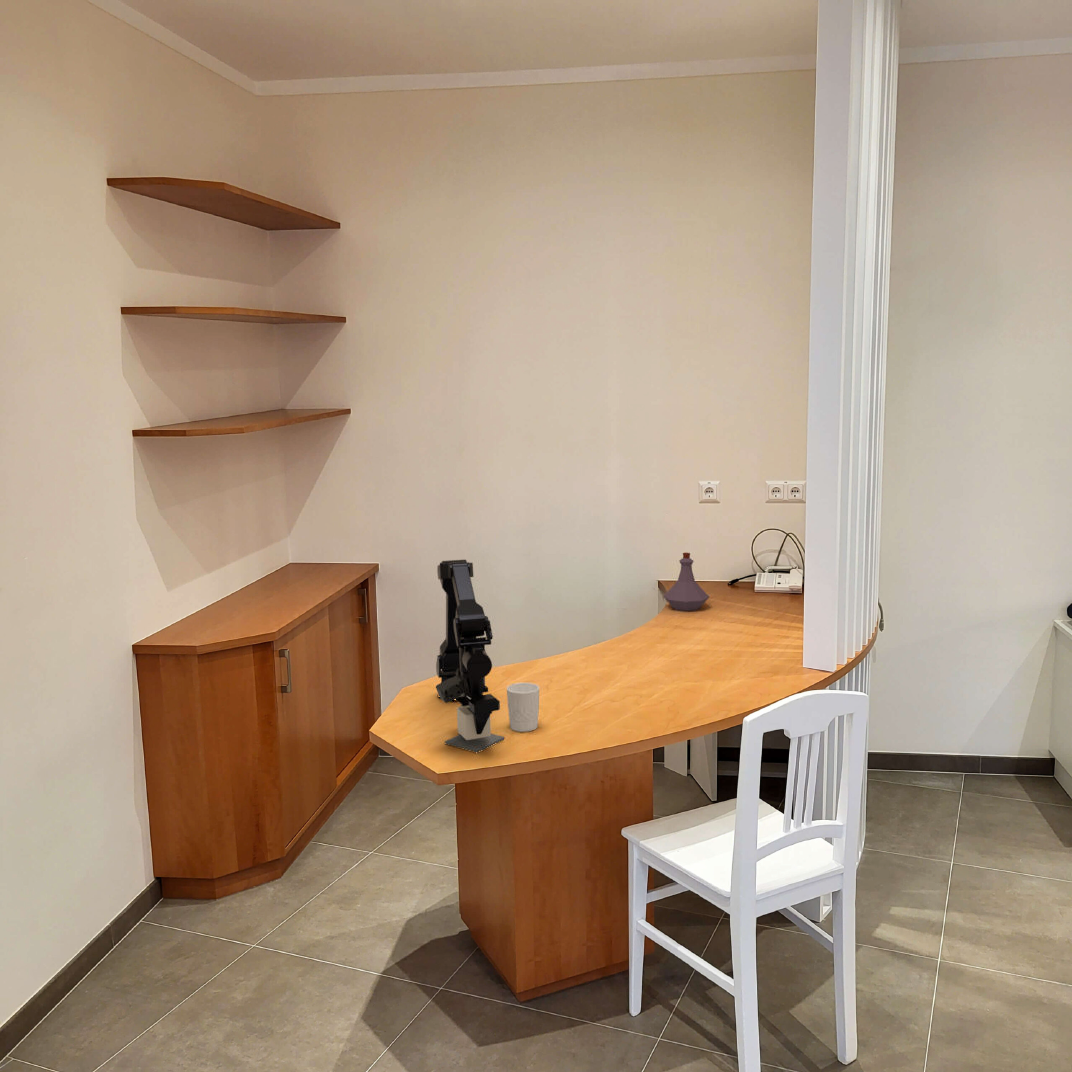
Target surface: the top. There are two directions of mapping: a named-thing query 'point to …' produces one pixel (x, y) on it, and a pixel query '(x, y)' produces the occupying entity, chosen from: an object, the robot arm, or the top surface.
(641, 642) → the top surface
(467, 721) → the cube
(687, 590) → the flask
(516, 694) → the white cup
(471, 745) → the coaster
